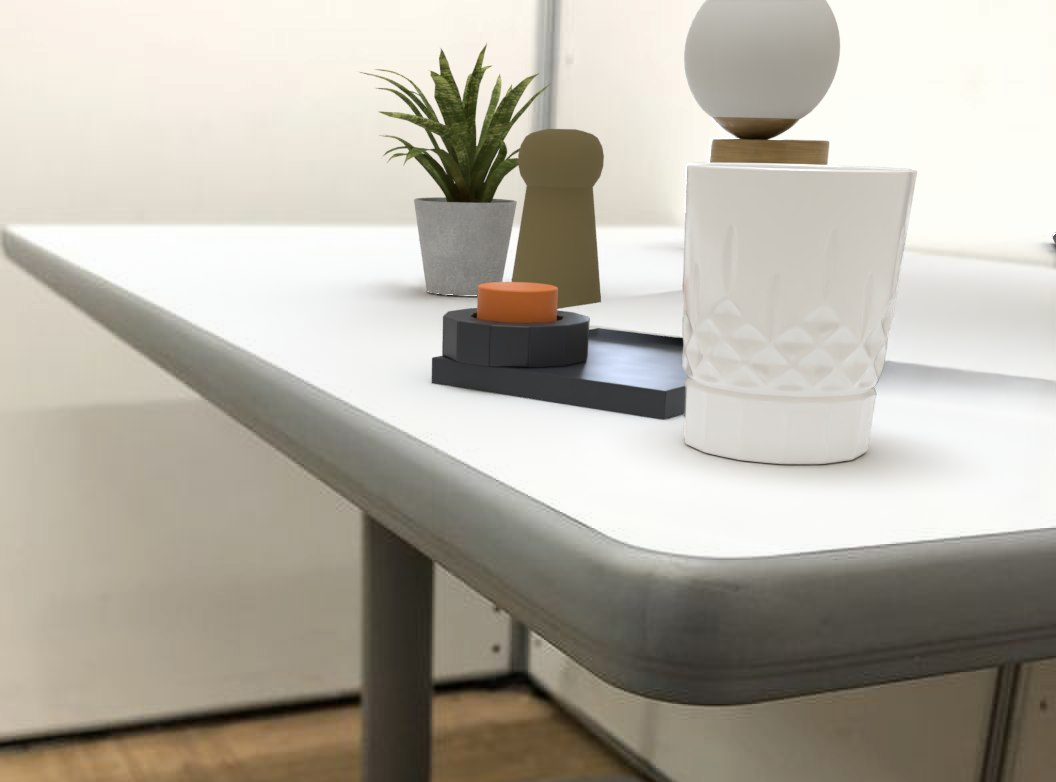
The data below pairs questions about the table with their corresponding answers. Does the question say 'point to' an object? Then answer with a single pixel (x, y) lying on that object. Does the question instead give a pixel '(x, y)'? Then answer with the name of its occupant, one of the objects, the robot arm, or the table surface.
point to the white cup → (788, 305)
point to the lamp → (762, 75)
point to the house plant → (463, 180)
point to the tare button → (517, 302)
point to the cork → (560, 214)
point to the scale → (563, 363)
